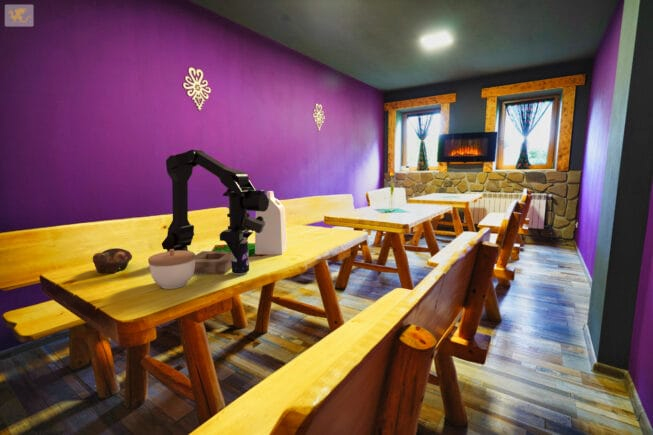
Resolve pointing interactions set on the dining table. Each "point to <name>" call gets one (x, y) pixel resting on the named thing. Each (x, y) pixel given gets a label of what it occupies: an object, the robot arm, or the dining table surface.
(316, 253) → the dining table surface
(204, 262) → the socket
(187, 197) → the robot arm
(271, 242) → the milk
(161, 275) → the lidded bowl
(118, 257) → the dark brown rounded lump
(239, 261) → the beverage can
